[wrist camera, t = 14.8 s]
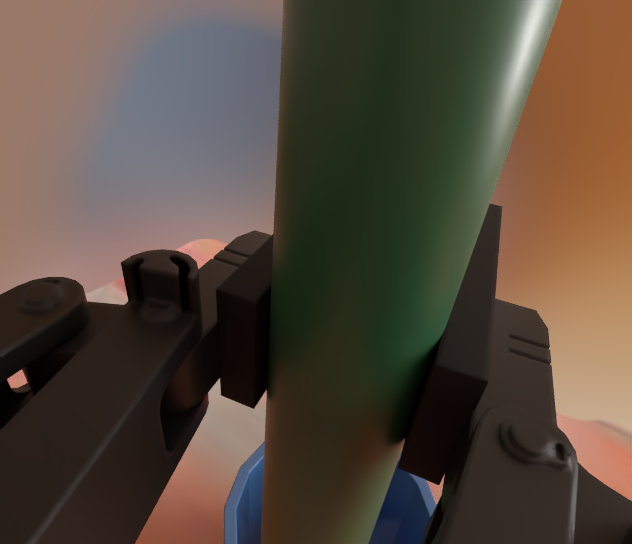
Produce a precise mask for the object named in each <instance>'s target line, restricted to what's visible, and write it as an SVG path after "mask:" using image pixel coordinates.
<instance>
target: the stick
mask: <svg viewBox="0 0 632 544" xmlns="http://www.w3.org/2000/svg"><path fill="white" fill-rule="evenodd" d="M561 2H562V0H283V23H282V47H281V72H280V94H279V118H278V141H277V165H276V189H275V212H274V235H273V259H272V282H271V306H270V330H269V353H268V377H267V400H266V424H265V448H264V471H263V495H262V518H261V544H369V541H370V538H371V535H372V532H373V530H374V527H375V524H376V521H377V518H378V516H379V513H380V510H381V507H382V504H383V502H384V499H385V496H386V493H387V490H388V487H389V485H390V482H391V479H392V476H393V473H394V471H395V468H396V465H397V462H398V459H399V457H400V454H401V451H402V448H403V445H404V441H405V438H406V435H407V432H408V429H409V426H410V423H411V421H412V418H413V415H414V412H415V409H416V407H417V404H418V401H419V398H420V395H421V392H422V390H423V387H424V384H425V381H426V378H427V375H428V373H429V370H430V367H431V364H432V361H433V359H434V356H435V353H436V350H437V347H438V344H439V342H440V339H441V336H442V334H443V332H444V330H445V328H446V325H447V322H448V319H449V316H450V314H451V311H452V308H453V305H454V302H455V300H456V297H457V294H458V291H459V288H460V286H461V283H462V280H463V277H464V274H465V272H466V269H467V266H468V263H469V260H470V258H471V255H472V252H473V249H474V246H475V243H476V241H477V238H478V235H479V232H480V229H481V227H482V224H483V221H484V218H485V215H486V213H487V210H488V207H489V204H490V201H491V199H492V196H493V193H494V190H495V187H496V185H497V182H498V179H499V176H500V173H501V171H502V167H503V165H504V162H505V159H506V157H507V154H508V151H509V148H510V145H511V143H512V140H513V137H514V134H515V131H516V128H517V126H518V123H519V120H520V117H521V114H522V111H523V109H524V106H525V103H526V100H527V97H528V95H529V92H530V89H531V86H532V84H533V81H534V78H535V75H536V72H537V69H538V67H539V64H540V61H541V58H542V55H543V52H544V49H545V47H546V44H547V42H548V39H549V36H550V33H551V30H552V28H553V25H554V22H555V19H556V16H557V13H558V11H559V8H560V5H561Z"/></svg>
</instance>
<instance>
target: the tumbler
mask: <svg viewBox="0 0 632 544" xmlns="http://www.w3.org/2000/svg"><path fill="white" fill-rule="evenodd" d="M264 448H265V441H264V442H263V444H262V445H261V446H260V447H259V448H258V449H257V450H256V451H255V452H254V453H253V454H252V455H251V456H250V458H249V459H248V460H247V461H246V462H245V463H244V464H243V465H242V466H241V467H240V469H239V471H238V473H237V476H236V479H235V481H234V484H233V486H232V489H231V491H230V494H229V496H228V499H227V502H226V504H225V508H224V544H261V518H262V495H263V471H264ZM401 453H402V451H401ZM400 457H401V454H400ZM400 457H399V459H398V462H397V465H396V468H395V471H394V473H393V476H392V479H391V482H390V485H389V487H388V490H387V493H386V496H385V499H384V502H383V504H382V507H381V510H380V513H379V516H378V518H377V521H376V524H375V527H374V530H373V532H372V535H371V538H370V541H369V544H422V543H423V540H424V538H425V535H426V534H424V533H423V532H424V530H425V528H426V526H427V524H428V522H429V520H430V518H431V516H432V514H433V512H434V510H435V508H436V503H435V501H434V498H433V496H432V493H431V490H430V488H429V485H428V483H427V481H426V480H425V479H423V478H420V477H418V476H415V475H413V474H411V473H408V472H406V471H403V470H401V469H398V465H399V461H400Z"/></svg>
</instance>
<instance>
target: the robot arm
mask: <svg viewBox="0 0 632 544" xmlns="http://www.w3.org/2000/svg"><path fill="white" fill-rule="evenodd" d="M501 212H502V206H498V205H493V204H489V207H488V210H487V213H486V215H485V218H484V221H483V224H482V227H481V229H480V232H479V235H478V238H477V241H476V243H475V246H474V249H473V252H472V255H471V258H470V260H469V263H468V266H467V269H466V272H465V274H464V277H463V280H462V283H461V286H460V288H459V291H458V294H457V297H456V300H455V302H454V305H453V308H452V311H451V314H450V316H449V319H448V322H447V325H446V328H445V330H444V332H443V334H442V336H441V339H440V342H439V344H438V347H437V350H436V353H435V356H434V359H433V361H432V364H431V367H430V370H429V373H428V375H427V378H426V381H425V384H424V387H423V390H422V392H421V395H420V398H419V401H418V404H417V407H416V409H415V412H414V415H413V418H412V421H411V423H410V426H409V429H408V432H407V435H406V438H405V441H404V445H403V449H402V453H401V457H400V461H399V465H398V469H401V470H403V471H406V472H408V473H411V474H413V475H415V476H418V477H420V478H423V479H425V480H427V481H430V482H432V483H435V484H437V485H439V484H440V482H441V480H442V478H443V476H444V474H445V477H444V484H443V490H442V496H441V498H440V500H439V502H438V504H437V506H436V508H435V510H434V512H433V514H432V516H431V518H430V520H429V522H428V524H427V526H426V528H425V530H424V532H423V533H424V534H426V535H425V538H424V540H423V543H422V544H632V501H630V500H628V499H627V498H625V497H624V496H622V495H621V494H619V493H617V492H616V491H614V490H613V489H611V488H610V487H608V486H606V485H605V484H603V483H602V482H601V481H599V480H598V479H597V478H595V477H594V476H593V475H591V474H590V473H589V472H587V471H586V470H585V469H584V468H583V467H582V466H581V465H580V464H579V463H578V462H577V456H576V451H575V449H574V448H573V446H572V444H571V443H570V441H569V440H568V438H567V436H566V435H565V434H564V433H563V432H562V431H561V430H560V429H559V428H558V427H557V421H556V410H555V399H554V388H553V378H552V367H551V365H550V363H551V356H550V350H549V347H550V345H549V335H548V328H547V326H546V325H545V323H544V322H543V320H542V319H541V318H540V316H539V314H538V313H537V311H536V310H533V309H529V308H526V307H522V306H518V305H515V304H512V303H508V302H505V301H501V300H498V299H495V291H496V278H497V265H498V253H499V240H500V227H501V214H502V213H501ZM273 235H274V234H273ZM273 235H269V234H265V233H262V232H258V231H252V232H250V233H247V234H244V235H242V236H239V237H237V238H236V239H234V240H233V241H232V242H231V243H230V244H228V245H227V246H226V247H225V248H224V250H221V251H220V252H219V253H218V254H217V255H215V256H214V259H211V260H209V261H208V262H207V263H206V264H205V265H203V266H202V267H201V268H200V269H199V270H198V266H197V262H196V261H195V260H194V259H193V258H191V257H190V256H189V255H187V254H184V253H181V252H179V251H173V250H163V249H162V250H153V251H146V252H142V253H139V254H136V255H133V256H131V257H130V258H128V259H126V260H125V261H123V262H121V266H122V271H123V276H124V281H125V286H126V291H127V296H128V302H127V303H126V304H125V305H118V304H107V303H97V302H87V300H86V296H85V293H84V289H83V286H82V285H81V284H79V283H78V282H77V281H76V280H72V279H69V278H65V277H47V278H41V279H37V280H32V281H29V282H27V283H24V284H22V285H19V286H17V287H15V288H13V289H11V290H9V291H7V292H5V293H3V294H1V295H0V544H135V542H136V540H137V538H138V537H139V535H140V533H141V531H142V529H143V527H144V526H145V524H146V522H147V520H148V518H149V516H150V515H151V513H152V511H153V509H154V507H155V505H156V504H157V502H158V500H159V498H160V496H161V494H162V493H163V491H164V489H165V487H166V485H167V483H168V482H169V480H170V478H171V476H172V474H173V472H174V471H175V469H176V467H177V465H178V463H179V461H180V460H181V458H182V456H183V454H184V452H185V450H186V449H187V447H188V445H189V443H190V441H191V439H192V438H193V436H194V434H195V432H196V430H197V428H198V427H199V425H200V423H201V421H202V419H203V417H204V416H205V414H206V411H207V407H208V404H209V401H208V392H209V391H210V389H211V388H212V387H213V386H214V384H215V383H216V382H217V380H218V379H219V378H220V384H221V395H222V396H224V397H226V398H229V399H231V400H234V401H236V402H239V403H241V404H243V405H246V406H248V407H251V408H253V409H254V408H255V406H256V405H257V403H258V402H259V400H260V399H261V397H262V395H263V394H264V392H265V391H266V389H267V377H268V353H269V330H270V306H271V282H272V259H273ZM21 369H22V370H23V373H24V375H25V377H26V380H27V382H28V383H27V384H25V385H23V386H21V387H19V388H11V387H10V385H9V383H8V381H7V378H9V377H11V376H12V375H14V374H15V373H17V372H18V371H20V370H21Z"/></svg>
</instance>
